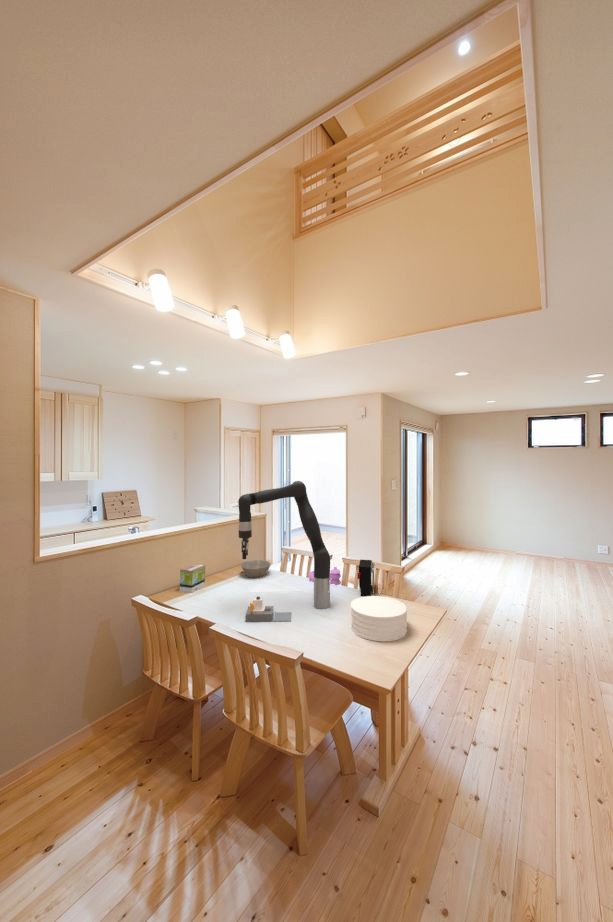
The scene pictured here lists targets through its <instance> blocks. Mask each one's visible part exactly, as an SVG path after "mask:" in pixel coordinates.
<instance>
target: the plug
mask: <svg viewBox="0 0 613 922" xmlns="http://www.w3.org/2000/svg"><path fill="white" fill-rule="evenodd" d="M253 601H254V609H253V612H251V613H264V611H265V606H266V605H263V597H261V596H258V595H257V596H256V597H254V600H253Z"/></svg>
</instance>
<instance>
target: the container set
mask: <svg viewBox="0 0 613 922" xmlns="http://www.w3.org/2000/svg"><path fill="white" fill-rule="evenodd" d="M308 573H309V575H308V576H309V577H308V579H309V582H311V581H313V582H314V570H312V571H311V570H310V572H308ZM341 576H342V575H341V570H340V569H338V567H337V566H334V567H333V568H332V569H330V585H331V584H335V585H334V586H339V585H341V584H342V582H341V580H340V579H341ZM313 582H312V583H313Z"/></svg>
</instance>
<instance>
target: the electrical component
mask: <svg viewBox="0 0 613 922" xmlns="http://www.w3.org/2000/svg"><path fill="white" fill-rule="evenodd" d="M357 580H358V583H359V586H358V587H359V588H358V589H359V590H360V597H366V596H375V594H374V592H375V591H374V590H375V562H373V560H372V559H359V563H358V572H357Z"/></svg>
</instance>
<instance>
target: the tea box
mask: <svg viewBox="0 0 613 922" xmlns="http://www.w3.org/2000/svg"><path fill="white" fill-rule="evenodd" d="M179 569H180V571H179V592H180V593H181V592H182V593H189V594H192V593H194V592H196V591H198V590H200V589H201V588H203V587H205V585H206V564H199V563H192V564H190V565H188V566H184V567H183V568H179Z"/></svg>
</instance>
